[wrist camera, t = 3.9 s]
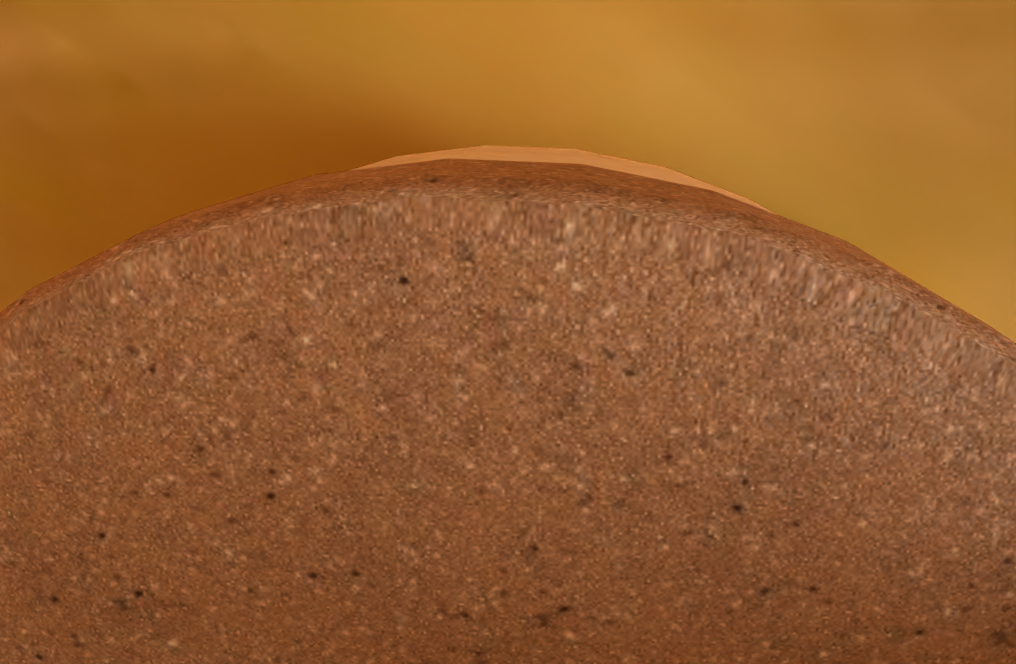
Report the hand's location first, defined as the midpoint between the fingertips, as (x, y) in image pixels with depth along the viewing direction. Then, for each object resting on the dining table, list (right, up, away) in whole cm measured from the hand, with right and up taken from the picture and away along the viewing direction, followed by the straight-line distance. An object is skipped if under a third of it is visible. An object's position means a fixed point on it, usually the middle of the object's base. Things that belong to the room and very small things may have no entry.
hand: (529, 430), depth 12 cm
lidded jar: (0, 0, +1) cm, 1 cm away
